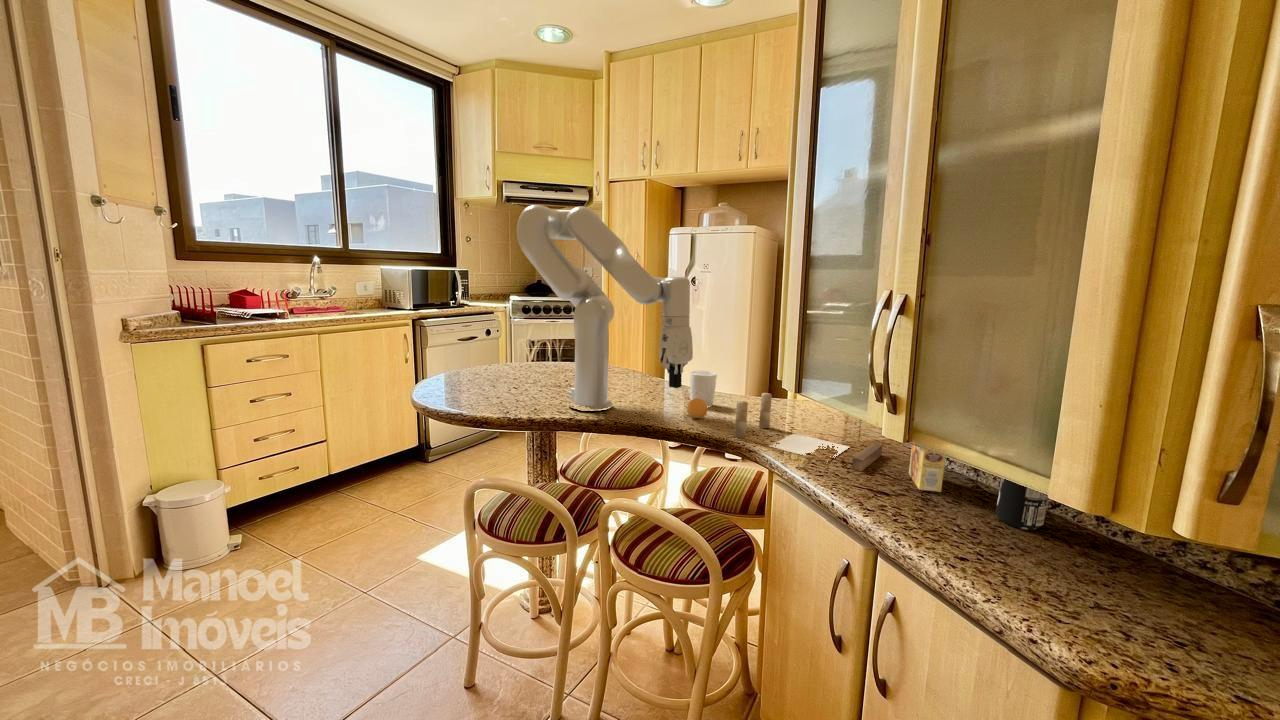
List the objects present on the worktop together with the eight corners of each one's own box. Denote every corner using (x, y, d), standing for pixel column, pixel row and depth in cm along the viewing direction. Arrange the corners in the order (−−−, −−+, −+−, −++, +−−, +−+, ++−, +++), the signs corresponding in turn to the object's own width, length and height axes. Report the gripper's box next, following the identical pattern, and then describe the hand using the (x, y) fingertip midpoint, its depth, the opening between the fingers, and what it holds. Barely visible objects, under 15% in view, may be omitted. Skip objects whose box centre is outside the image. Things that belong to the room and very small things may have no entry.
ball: (682, 418, 142) (683, 398, 141) (693, 414, 146) (695, 395, 145) (699, 422, 139) (700, 402, 138) (710, 418, 143) (712, 399, 142)
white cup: (684, 402, 159) (686, 370, 158) (708, 401, 162) (710, 370, 160) (694, 409, 152) (696, 376, 150) (719, 408, 154) (721, 375, 153)
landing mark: (768, 446, 121) (768, 446, 121) (794, 434, 132) (794, 433, 132) (828, 462, 113) (828, 461, 113) (850, 447, 123) (850, 446, 123)
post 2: (757, 427, 136) (759, 394, 135) (761, 425, 138) (764, 392, 137) (766, 429, 135) (769, 395, 133) (770, 427, 137) (773, 394, 135)
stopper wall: (851, 469, 109) (852, 457, 109) (872, 452, 120) (873, 442, 120) (861, 471, 108) (862, 460, 108) (881, 455, 119) (882, 444, 118)
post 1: (732, 438, 127) (734, 402, 125) (737, 435, 129) (740, 400, 127) (741, 440, 125) (744, 404, 124) (747, 438, 127) (749, 402, 126)
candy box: (942, 493, 99) (953, 415, 96) (917, 490, 100) (928, 413, 97) (928, 476, 107) (938, 403, 105) (906, 473, 108) (915, 401, 106)
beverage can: (997, 509, 93) (1007, 445, 91) (1043, 521, 89) (1055, 454, 87) (992, 522, 88) (1004, 454, 86) (1041, 535, 84) (1054, 464, 81)
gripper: (670, 325, 136) (669, 393, 139) (702, 321, 147) (701, 384, 150) (648, 323, 141) (648, 389, 144) (680, 319, 152) (679, 381, 155)
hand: (675, 387), depth 147 cm, fingers closed
